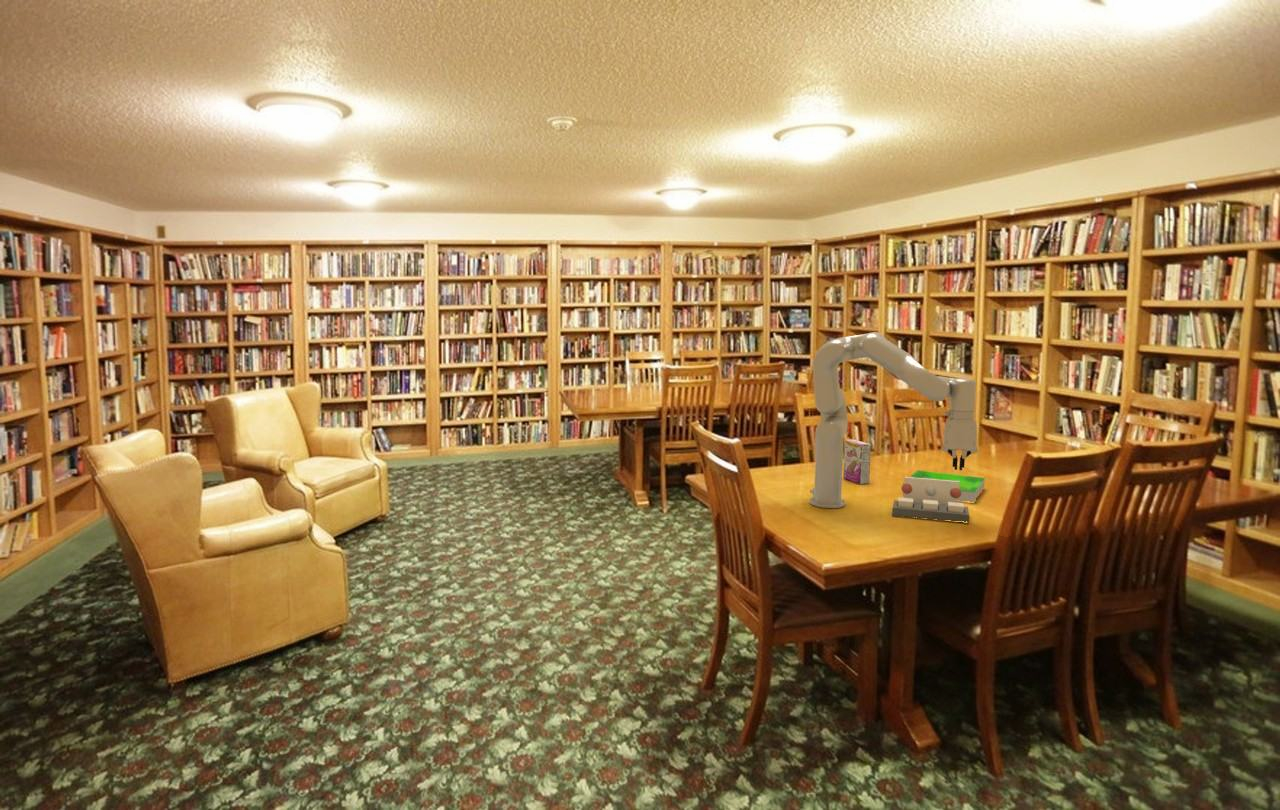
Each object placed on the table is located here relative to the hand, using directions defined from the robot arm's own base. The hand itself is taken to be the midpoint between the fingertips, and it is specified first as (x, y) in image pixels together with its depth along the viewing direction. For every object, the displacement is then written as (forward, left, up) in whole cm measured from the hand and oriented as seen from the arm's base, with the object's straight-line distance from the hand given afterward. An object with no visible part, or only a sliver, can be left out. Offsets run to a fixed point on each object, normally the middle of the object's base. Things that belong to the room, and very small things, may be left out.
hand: (958, 469), depth 245 cm
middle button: (-6, -6, -15) cm, 17 cm away
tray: (-28, +23, -18) cm, 40 cm away
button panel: (-7, -4, -17) cm, 19 cm away
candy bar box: (-55, +3, -17) cm, 57 cm away
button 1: (-11, -11, -15) cm, 22 cm away
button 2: (0, 0, -15) cm, 15 cm away
